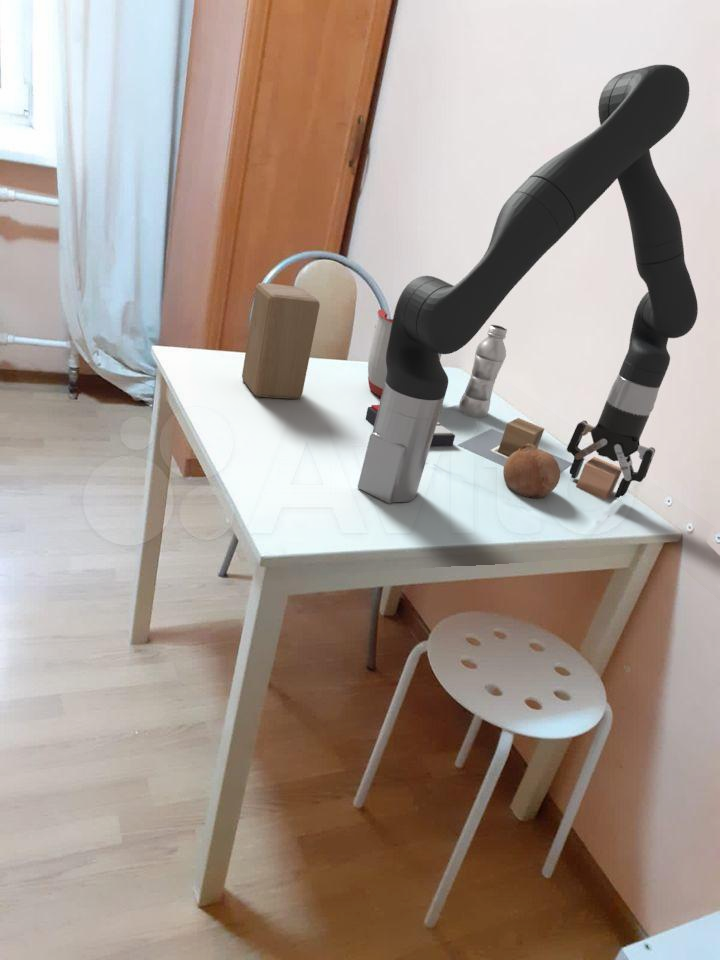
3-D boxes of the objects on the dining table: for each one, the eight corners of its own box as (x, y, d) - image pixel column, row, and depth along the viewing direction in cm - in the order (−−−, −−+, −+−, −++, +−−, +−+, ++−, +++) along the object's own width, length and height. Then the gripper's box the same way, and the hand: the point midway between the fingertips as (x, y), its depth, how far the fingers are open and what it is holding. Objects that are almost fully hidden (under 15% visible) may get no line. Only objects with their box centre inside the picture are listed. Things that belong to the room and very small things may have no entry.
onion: (499, 500, 128) (495, 444, 127) (551, 495, 128) (547, 439, 127) (514, 507, 118) (510, 447, 117) (569, 502, 119) (566, 441, 118)
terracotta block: (602, 505, 128) (614, 476, 126) (573, 492, 131) (585, 463, 128) (610, 497, 133) (622, 468, 130) (582, 485, 135) (594, 456, 132)
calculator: (414, 403, 145) (457, 431, 133) (409, 423, 147) (451, 453, 135) (367, 402, 139) (408, 432, 128) (363, 423, 141) (403, 454, 129)
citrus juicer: (392, 377, 169) (414, 293, 160) (443, 406, 158) (469, 318, 149) (341, 379, 159) (360, 289, 150) (391, 411, 148) (415, 316, 139)
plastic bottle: (452, 415, 154) (479, 324, 145) (462, 408, 160) (489, 320, 151) (479, 425, 152) (508, 334, 143) (489, 418, 157) (517, 330, 149)
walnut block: (523, 463, 135) (533, 434, 132) (497, 451, 137) (507, 423, 134) (534, 456, 139) (544, 428, 136) (508, 445, 141) (518, 417, 139)
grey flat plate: (542, 490, 128) (544, 483, 128) (455, 450, 136) (457, 444, 135) (570, 468, 141) (573, 462, 140) (490, 433, 149) (491, 428, 148)
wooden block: (239, 379, 145) (255, 280, 136) (286, 381, 149) (303, 286, 141) (254, 398, 137) (271, 295, 128) (302, 400, 142) (322, 301, 133)
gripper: (583, 393, 124) (552, 476, 131) (665, 424, 118) (628, 509, 125) (596, 386, 130) (566, 466, 137) (674, 416, 124) (638, 497, 131)
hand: (595, 486), depth 131 cm, fingers open, 8 cm apart
